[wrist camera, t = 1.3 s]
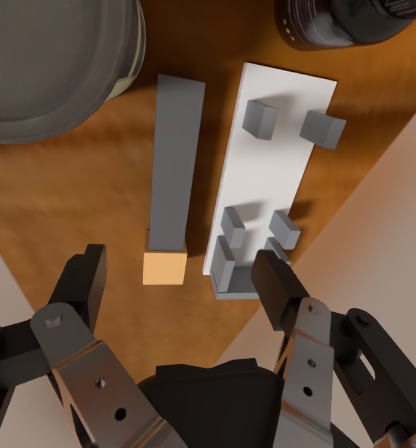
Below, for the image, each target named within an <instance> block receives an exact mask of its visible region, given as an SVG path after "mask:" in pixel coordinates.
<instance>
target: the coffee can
mask: <svg viewBox="0 0 416 448" xmlns="http://www.w3.org/2000/svg"><path fill="white" fill-rule="evenodd" d="M145 49H146V29H145V20H144V15H143V11H142V8H141V5H140V2H139V0H0V144H23V143H32V142H37V141H43V140H46V139H49V138H53V137H56V136H59V135H61V134H63V133H66V132H67V131H69V130H71V129H73V128H75V127H77V126H78V125H80V124H82V123H83V122H84V121H85V120H86V119H87V118H89V117H90V116H91V115H92V114H93V113H95V112H96V111H97V110H98V109H99V107H100V106H101V105H102V104H103V103H105V102H106V101H108V100H109V99H111V98H114V97H116V96H117V95H119V94H121V93H122V92H123V91H125V90H126V89H127V88H128V87H129V86H130V85H131V84H132V83H133V81H134V80H135V79H136V77H137V75H138V73H139V71H140V69H141V66H142V63H143V60H144V55H145Z"/></svg>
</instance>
